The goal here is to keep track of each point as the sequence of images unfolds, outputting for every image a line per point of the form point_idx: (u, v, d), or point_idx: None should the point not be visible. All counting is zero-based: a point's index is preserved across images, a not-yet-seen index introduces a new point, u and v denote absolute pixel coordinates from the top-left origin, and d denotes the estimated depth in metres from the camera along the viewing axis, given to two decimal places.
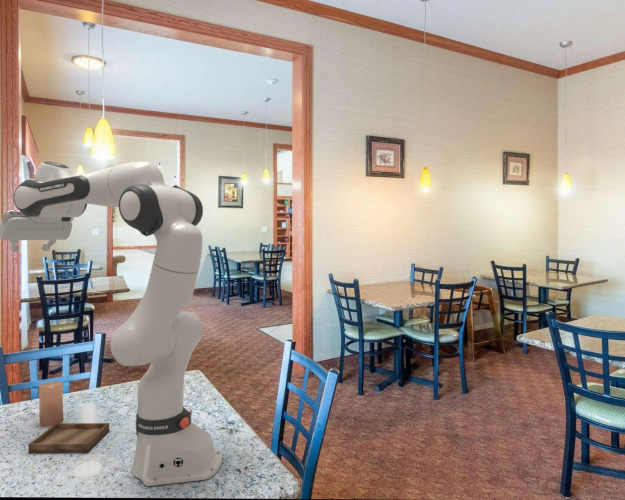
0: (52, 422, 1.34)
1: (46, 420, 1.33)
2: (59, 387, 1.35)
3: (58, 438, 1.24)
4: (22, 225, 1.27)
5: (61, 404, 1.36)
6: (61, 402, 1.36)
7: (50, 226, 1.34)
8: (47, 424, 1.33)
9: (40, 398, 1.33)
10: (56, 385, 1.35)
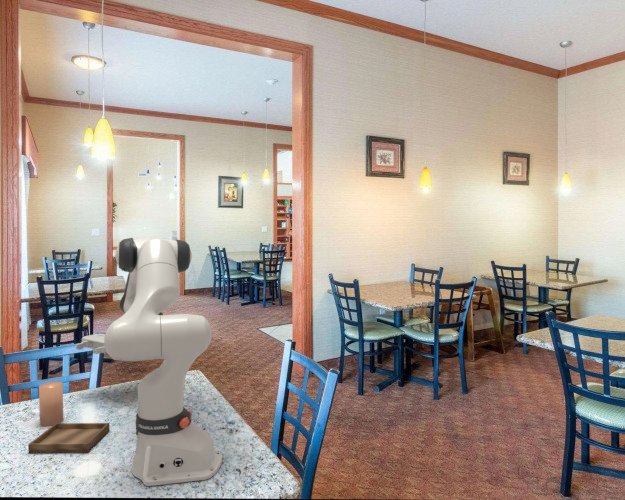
0: (52, 422, 1.34)
1: (46, 420, 1.33)
2: (59, 387, 1.35)
3: (58, 438, 1.24)
4: (101, 336, 1.57)
5: (61, 404, 1.36)
6: (61, 402, 1.36)
7: None
8: (47, 424, 1.33)
9: (40, 398, 1.33)
10: (56, 385, 1.35)
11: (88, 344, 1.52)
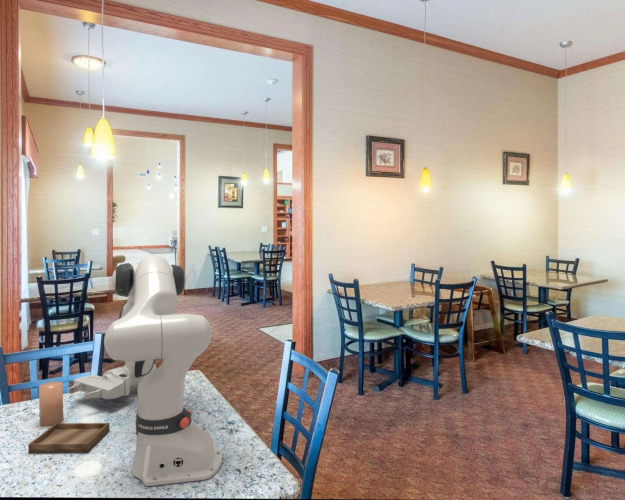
0: (52, 422, 1.34)
1: (46, 420, 1.33)
2: (59, 387, 1.35)
3: (58, 438, 1.24)
4: (93, 378, 1.54)
5: (61, 404, 1.36)
6: (61, 402, 1.36)
7: (108, 382, 1.50)
8: (47, 424, 1.33)
9: (40, 398, 1.33)
10: (56, 385, 1.35)
11: (80, 387, 1.50)
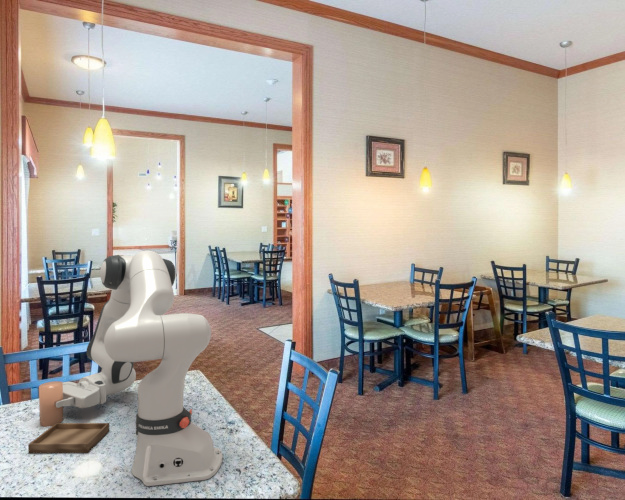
0: (52, 422, 1.34)
1: (46, 420, 1.33)
2: (59, 387, 1.35)
3: (58, 438, 1.24)
4: (68, 385, 1.46)
5: None
6: None
7: (82, 389, 1.42)
8: (47, 424, 1.33)
9: (40, 398, 1.33)
10: (56, 385, 1.35)
11: None
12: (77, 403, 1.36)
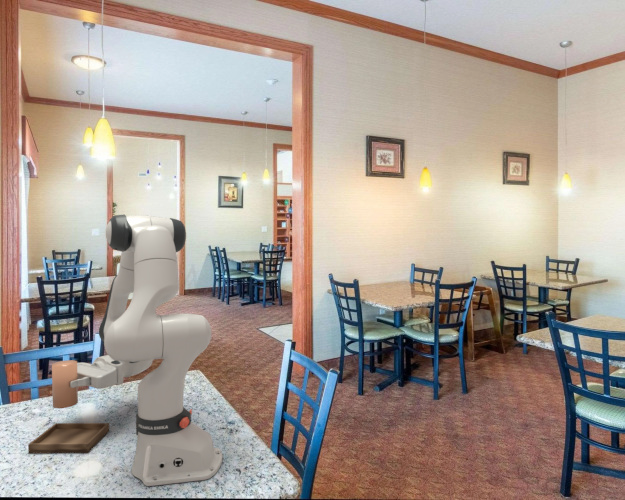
0: (66, 403, 1.23)
1: (59, 401, 1.23)
2: (73, 366, 1.25)
3: (58, 438, 1.24)
4: (82, 365, 1.36)
5: None
6: None
7: (98, 369, 1.32)
8: (61, 405, 1.23)
9: (53, 377, 1.23)
10: (70, 363, 1.25)
11: None
12: (93, 383, 1.25)
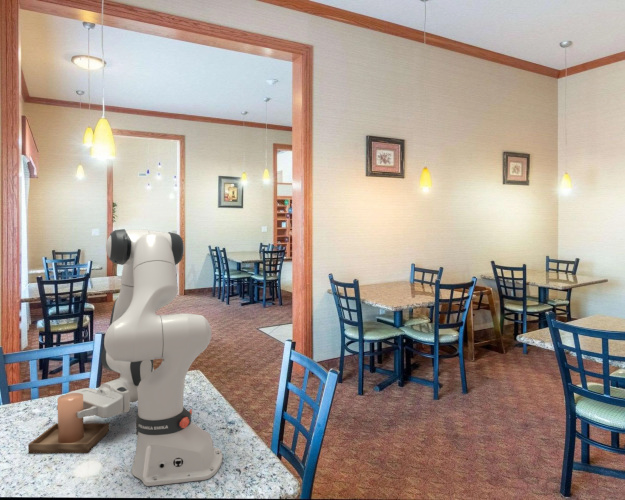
0: (72, 439, 1.21)
1: (65, 436, 1.20)
2: (79, 400, 1.22)
3: None
4: (88, 392, 1.34)
5: (82, 418, 1.24)
6: None
7: (104, 397, 1.29)
8: (66, 441, 1.20)
9: (59, 412, 1.21)
10: (76, 397, 1.23)
11: None
12: (99, 412, 1.23)
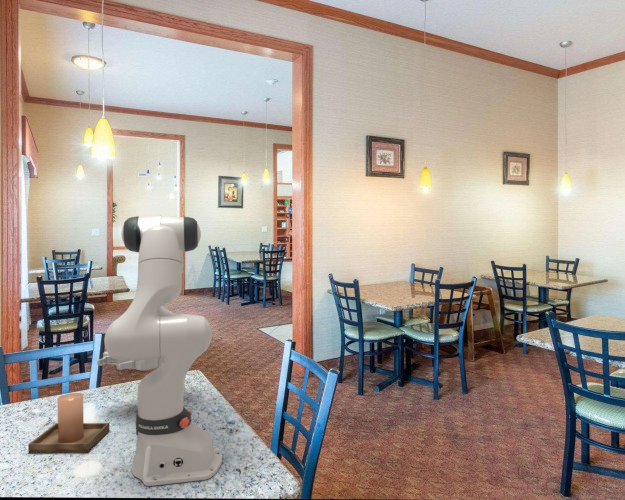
0: (71, 439, 1.21)
1: (65, 436, 1.20)
2: (79, 400, 1.22)
3: None
4: None
5: (82, 418, 1.24)
6: (81, 416, 1.23)
7: None
8: (66, 441, 1.20)
9: (59, 412, 1.21)
10: (76, 397, 1.23)
11: (110, 359, 1.39)
12: (137, 365, 1.33)
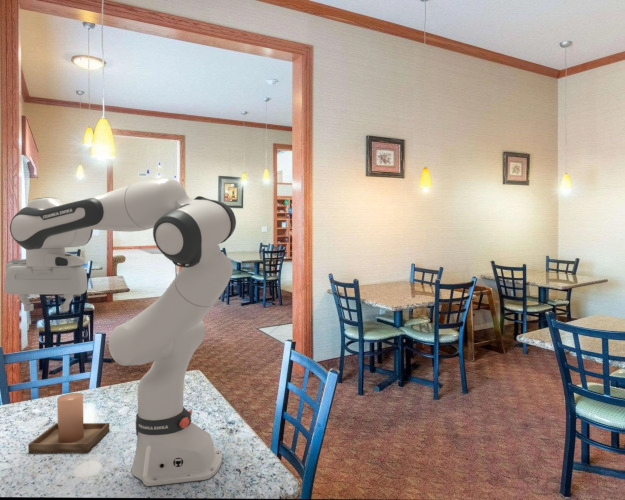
0: (71, 439, 1.21)
1: (65, 436, 1.20)
2: (79, 400, 1.22)
3: None
4: (21, 275, 1.13)
5: (82, 418, 1.24)
6: (81, 416, 1.23)
7: (53, 276, 1.13)
8: (66, 441, 1.20)
9: (59, 412, 1.21)
10: (76, 397, 1.23)
11: (27, 294, 1.15)
12: None
